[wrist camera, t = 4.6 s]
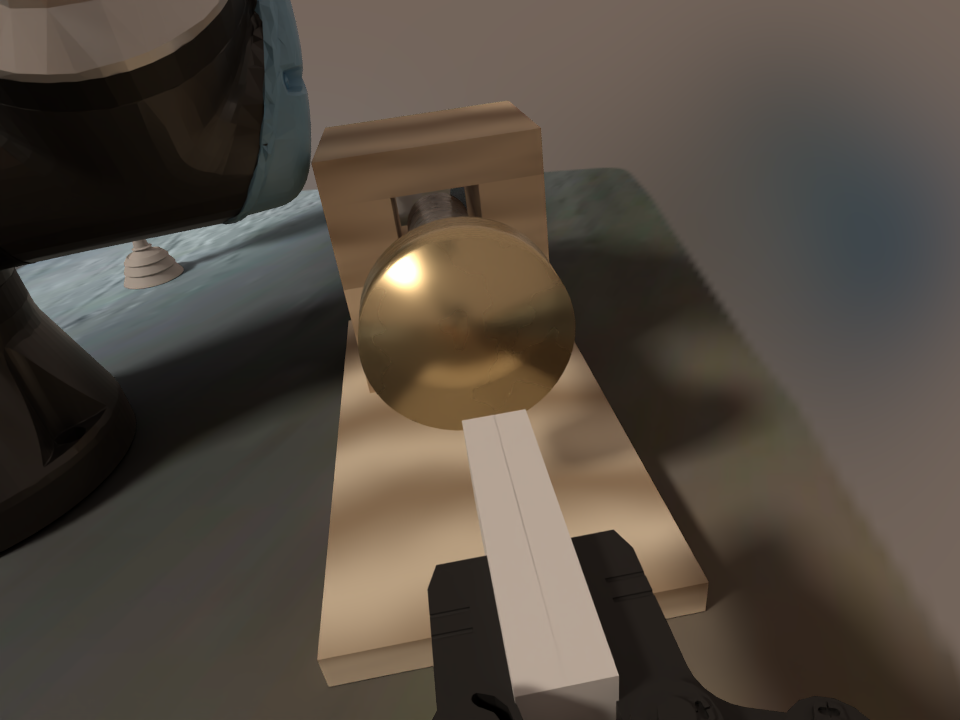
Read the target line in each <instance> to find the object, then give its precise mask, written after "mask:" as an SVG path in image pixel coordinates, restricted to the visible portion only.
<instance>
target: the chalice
mask: <svg viewBox="0 0 960 720" xmlns="http://www.w3.org/2000/svg"><path fill="white" fill-rule="evenodd" d="M151 245H152V244H148V242H147V241H146V240H145V239H143V240H138V241H133V247H134V248H132V251H133V252H132V253H130V254H129V255H128V256H127V257H126V260H125V262H124V266H125V270H124V275H125V281H124V287H126V288H129V289H142V288H148V287H153V286H156V285H160V284H163V283H165V282H168V281H170V280H172V279H174V278H176V277H178V276H179V275H180V274H181V273H182V272H183V270H184V269H183V267H182V266H181V265H179V264H178V263H176V262H175V259H174V258H173V257H172V256H170V255H169V254H168V251H166V250H164V249H162V248H160V247H151Z"/></svg>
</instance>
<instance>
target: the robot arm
mask: <svg viewBox="0 0 960 720" xmlns="http://www.w3.org/2000/svg"><path fill="white" fill-rule="evenodd" d="M302 71H303V66H302V54H301V46H300V40H299V35H298V31H297V26H296V21H295V17H294V13H293V9H292V5H291V1H290V0H0V552H2V551H4V550H6V549H8V548H10V547H11V546H13V545H15V544H17V543H19V542H21V541H22V540H24V539H26V538H28V537H29V536H31V535H33V534H34V533H36V532H38V531H39V530H41V529H42V528H44V527H46V526H47V525H49V524H50V523H52V522H53V521H55V520H56V519H58V518H59V517H61V516H62V515H63V514H65V513H66V512H68V511H69V510H70V509H72V508H73V507H74V506H75V505H77V504H78V503H79V502H81V501H82V500H83V499H84V498H85V497H87V496H88V495H89V494H90V493H91V492H92V491H93V490H94V489H96V488H97V487H98V486H99V485H100V484H101V483H102V482H103V481H104V480H105V479H106V478H107V477H108V476H109V475H110V473H111V472H112V471H113V470H114V469H115V468H116V466H117V465H118V464H119V463H120V461H121V460H122V458H123V457H124V456H125V454H126V452H127V451H128V449H129V447H130V445H131V443H132V441H133V438H134V435H135V431H136V418H135V414H134V412H133V410H132V408H131V406H130V404H129V402H128V400H127V398H126V396H125V394H124V392H123V390H122V388H121V386H120V385H119V383H118V382H117V381H116V379H115V378H114V377H113V376H112V375H111V374H110V373H109V372H108V371H107V370H106V369H105V368H104V367H103V366H101V365H100V364H99V363H98V362H97V361H96V360H95V359H94V358H93V357H92V356H91V355H89V354H88V353H87V352H86V351H85V350H84V349H83V348H82V347H81V346H80V345H79V344H77V343H76V342H75V341H74V340H73V339H72V338H71V337H70V336H69V335H68V334H67V333H65V332H64V331H63V330H62V329H61V328H60V327H59V326H58V325H57V324H56V323H55V322H53V321H52V320H51V319H50V318H49V317H48V316H47V315H46V314H45V313H44V312H43V311H41V310H40V309H39V307H38V306H37V305H36V304H35V303H34V301H33V299H32V298H31V296H30V294H29V292H28V290H27V289H26V287H25V285H24V284H23V282H22V280H21V278H20V276H19V275H18V273H17V271H16V269H15V267H18V266H22V265H26V264H32V263H36V262H39V261H43V260H48V259H52V258H57V257H62V256H66V255H71V254H75V253H80V252H85V251H89V250H94V249H99V248H104V247H109V246H114V245H119V244H124V243H129V242H133V241H138V240H143V239H148V238H153V237H158V236H163V235H168V234H173V233H178V232H182V231H187V230H192V229H197V228H202V227H207V226H212V225H217V224H232V223H236V222H238V221H241V220H242V219H244V218H245V217H246V216H247V215H251V214H254V213H258V212H262V211H265V210H269V209H273V208H276V207H280V206H283V205H285V204H287V203H289V202H291V201H292V200H293V199H294V198H296V197H297V196H298V194H299V193H300V192H301V190H302V189H303V187H304V185H305V183H306V180H307V176H308V173H309V167H310V159H311V122H310V110H309V100H308V93H307V90H306V87H305V84H304V81H303V79H302ZM462 425H463V431H464V437H465V443H466V450H467V456H468V462H469V468H470V474H471V480H472V486H473V492H474V498H475V504H476V510H477V515H478V520H479V526H480V531H481V536H482V542H483V547H484V552H485V556H481V557H475V558H470V559H465V560H460V561H455V562H449V563H444V564H439V565H436V567H435V570H434V572H433V575H432V578H431V581H430V583H429V586H428V589H427V591H428V603H429V615H430V628H431V638H432V653H433V665H434V678H435V690H436V703H437V711H436V713H435V715H434V717H433V719H432V720H869V719H868V718H867V717H866V716H864V715H863V714H862V713H861V712H859V711H858V710H857V709H856V708H854V707H852V706H850V705H848V704H845V703H843V702H841V701H839V700H837V699H834V698H826V697H818V696H814V697H810V698H806V699H802V700H799V701H798V702H797V703H795V704H794V705H793V706H792V707H791V708H790V709H789V710H788V711H787V713H784V712H777V711H769V710H762V709H754V708H747V707H742V706H738V705H734V704H730V703H728V702H726V701H724V700H722V699H720V698H718V697H716V696H714V695H713V694H712V693H710V692H709V691H708V690H706V689H705V688H704V687H703V686H702V685H701V684H700V683H699V682H698V681H697V680H696V679H695V678H694V676H693V675H692V673H691V671H690V670H689V668H688V666H687V664H686V662H685V660H684V658H683V656H682V653H681V651H680V649H679V647H678V645H677V642H676V640H675V638H674V636H673V634H672V632H671V629H670V627H669V625H668V623H667V621H666V618H665V616H664V614H663V612H662V610H661V607H660V605H659V603H658V601H657V599H656V597H655V595H654V594H653V590H652V588H651V586H650V583H649V581H648V579H647V577H646V575H645V574H644V570H643V568H642V566H641V564H640V562H639V559H638V557H637V555H636V553H635V551H634V548H633V547H632V546H631V545H630V544H629V543H628V542H627V541H626V540H624V539H623V538H622V537H621V536H620V535H619V534H618V533H617V532H616V531H615V530H614V529H613V530H608V531H603V532H598V533H592V534H587V535H582V536H577V537H572V538H571V537H570V535H569V532H568V529H567V526H566V523H565V520H564V517H563V515H562V512H561V509H560V506H559V503H558V500H557V497H556V495H555V492H554V489H553V486H552V483H551V480H550V478H549V475H548V472H547V469H546V466H545V463H544V460H543V458H542V455H541V452H540V449H539V446H538V443H537V440H536V438H535V435H534V432H533V429H532V426H531V423H530V420H529V418H528V415H527V412H526V409H524V410H518V411H512V412H507V413H501V414H496V415H490V416H485V417H479V418H473V419H468V420H462Z"/></svg>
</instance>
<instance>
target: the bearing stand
mask: <svg viewBox="0 0 960 720" xmlns="http://www.w3.org/2000/svg"><path fill="white" fill-rule="evenodd" d="M541 139H542V138H541V128H540V127H539V126H538V125H537V124H535V123H534V122H533V121H532V120H531V119H529V118H528V117H527V116H526V115H525V114H524V113H522V112H521V111H520V110H519V109H518V108H517V107H515V106H514V105H513V104H512V103H511V102H509V101H502V102H495V103H488V104H482V105H475V106H469V107H462V108H455V109H448V110H441V111H436V112H428V113H422V114H415V115H408V116H401V117H395V118H388V119H381V120H374V121H368V122H361V123H354V124H348V125H341V126H334V127H328V128H325V130H324V132H323V135H322V137H321V140H320V142H319V145H318V147H317V150H316V152H315V155H314V158H313V160H312V167H313V171H314V175H315V179H316V183H317V187H318V191H319V195H320V199H321V203H322V207H323V211H324V215H325V218H326V222H327V226H328V230H329V234H330V238H331V242H332V246H333V250H334V254H335V258H336V262H337V266H338V270H339V274H340V277H341V281H342V285H343V289H344V293H345V297H346V301H347V305H348V309H349V313H350V317H351V321H349V323H348V334H347V345H346V356H345V367H344V377H343V388H342V399H341V410H340V421H339V431H338V442H337V453H336V464H335V475H334V486H333V496H332V507H331V518H330V529H329V540H328V551H327V561H326V572H325V583H324V594H323V605H322V615H321V626H320V637H319V648H318V659H317V660H318V663H319V665H320V667H321V670H322V672H323V675H324V677H325V679H326V682H327V684H328V686H329V687H331V686H336V685H341V684H346V683H351V682H356V681H361V680H366V679H371V678H376V677H380V676H385V675H390V674H395V673H400V672H405V671H410V670H415V669H420V668H425V667H430V666H434V665H433V653H432V638H431V628H430V615H429V603H428V591H427V589H428V586H429V583H430V581H431V578H432V575H433V572H434V570H435V567H436V565H439V564H444V563H449V562H455V561H460V560H465V559H470V558H475V557H481V556H485V552H484V547H483V542H482V536H481V531H480V526H479V520H478V515H477V510H476V504H475V498H474V492H473V486H472V480H471V474H470V468H469V462H468V456H467V450H466V443H465V437H464V431H463V430H460V431H454V430H443V429H438V428H433V427H429V426H425V425H422V424H419V423H417V422H414V421H412V420H410V419H408V418H406V417H404V416H403V415H401V414H399V413H398V412H396V411H395V410H393V409H392V408H391V407H390V406H388V405H387V404H386V403H385V402H384V401H383V400H382V399H381V398H380V397H379V396H378V395H377V393H376V392H375V390H374V389H373V388H372V386H371V385H370V383H369V381H368V379H367V377H366V375H365V373H364V371H363V368H362V365H361V362H360V357H359V351H358V325H359V309H360V300H361V294H362V291H363V287H364V284H365V281H366V279H367V277H368V274H369V272H370V270H371V269H372V267H373V266H374V264H375V262H376V261H377V259H378V258H379V257H380V256H381V255H382V253H383V252H384V251H385V250H386V249H387V248H388V247H389V246H390V245H391V244H392V243H394V242H395V241H396V240H397V239H399V238H400V237H401V236H403V235H404V234H406V233H407V232H408V225H406V226H401V223H400V218H399V213H398V207H397V202H396V197H400V196H407V195H413V194H419V193H426V192H432V191H439V190H445V189H451V188H458V187H464V189H465V197H466V204H467V212H468V215H469V217H480V218H486V219H491V220H494V221H497V222H501V223H504V224H506V225H508V226H510V227H512V228H514V229H516V230H518V231H519V232H521V233H522V234H524V235H525V236H527V237H528V238H529V239H530V240H531V241H533V242H534V243H535V244H536V245H537V246H538V247H539V249H540V250H541V251H542V252H543V253H544V255H545V256H546V258H547V259H548V261H549V251H548V235H547V219H546V203H545V187H544V171H543V155H542V140H541ZM526 412H527V415H528V418H529V420H530V423H531V426H532V429H533V432H534V435H535V438H536V440H537V443H538V446H539V449H540V452H541V455H542V458H543V460H544V463H545V466H546V469H547V472H548V475H549V478H550V480H551V483H552V486H553V489H554V492H555V495H556V497H557V500H558V503H559V506H560V509H561V512H562V515H563V517H564V520H565V523H566V526H567V529H568V532H569V535H570V537H571V538H572V537H577V536H582V535H587V534H592V533H598V532H603V531H608V530H613V529H614V530H615V531H616V532H617V533H618V534H619V535H620V536H621V537H622V538H623V539H624V540H626V541H627V542H628V543H629V544H630V545H631V546H632V547H633V548H634V551H635V553H636V555H637V557H638V559H639V562H640V564H641V566H642V568H643V570H644V574H645V575H646V577H647V579H648V581H649V583H650V586H651V588H652V590H653V594H654V595H655V597H656V599H657V601H658V603H659V605H660V607H661V610H662V612H663V614H664V616H665V618H666V619H668V618H673V617H678V616H683V615H688V614H693V613H698V612H703V611H705V610H706V601H707V593H708V584H709V582H708V580H707V578H706V576H705V575H704V573H703V571H702V569H701V568H700V566H699V564H698V562H697V560H696V559H695V557H694V555H693V553H692V551H691V550H690V548H689V546H688V544H687V542H686V541H685V539H684V537H683V535H682V533H681V532H680V530H679V528H678V526H677V525H676V523H675V521H674V519H673V517H672V516H671V514H670V512H669V510H668V508H667V507H666V505H665V503H664V501H663V499H662V498H661V496H660V494H659V492H658V490H657V489H656V487H655V485H654V483H653V481H652V480H651V478H650V476H649V474H648V473H647V471H646V469H645V467H644V465H643V464H642V462H641V460H640V458H639V456H638V455H637V453H636V451H635V449H634V447H633V446H632V444H631V442H630V440H629V438H628V437H627V435H626V433H625V431H624V429H623V428H622V426H621V424H620V422H619V421H618V419H617V417H616V415H615V413H614V412H613V410H612V408H611V406H610V404H609V403H608V401H607V399H606V397H605V395H604V394H603V392H602V390H601V388H600V386H599V385H598V383H597V381H596V379H595V378H594V376H593V374H592V372H591V370H590V369H589V367H588V365H587V363H586V361H585V360H584V358H583V356H582V354H581V352H580V351H579V349H578V347H577V345H576V343H575V342H574V346H573V350H572V353H571V357H570V360H569V362H568V364H567V366H566V368H565V371H564V372H563V374H562V376H561V377H560V379H559V380H558V382H557V383H556V384H555V386H554V387H553V388H552V389H551V391H550V392H549V393H548V394H547V395H546V396H545V397H544V398H543V399H542V400H541V401H539V402H538V403H537V404H536V405H534V406H533V407H532V408H530V409H529V410H527V411H526Z"/></svg>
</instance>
